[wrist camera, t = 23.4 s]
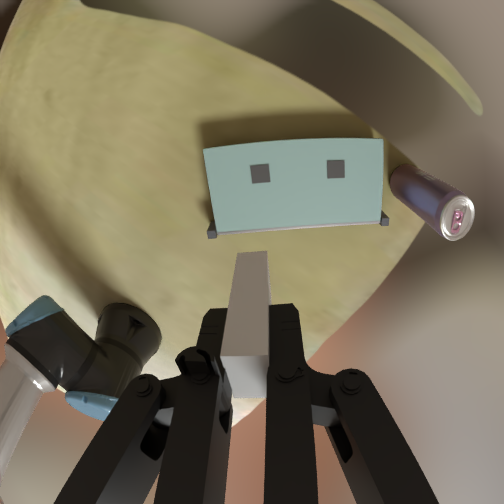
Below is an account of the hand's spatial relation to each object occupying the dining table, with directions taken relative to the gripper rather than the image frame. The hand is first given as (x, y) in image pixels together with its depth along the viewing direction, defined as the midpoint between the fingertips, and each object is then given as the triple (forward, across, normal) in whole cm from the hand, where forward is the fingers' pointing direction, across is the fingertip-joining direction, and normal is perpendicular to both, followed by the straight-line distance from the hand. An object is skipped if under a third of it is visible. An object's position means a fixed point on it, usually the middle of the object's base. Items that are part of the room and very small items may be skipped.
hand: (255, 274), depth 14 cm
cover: (+24, +5, -2) cm, 24 cm away
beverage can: (+27, +22, -3) cm, 35 cm away
